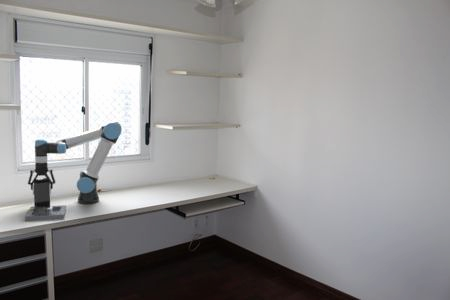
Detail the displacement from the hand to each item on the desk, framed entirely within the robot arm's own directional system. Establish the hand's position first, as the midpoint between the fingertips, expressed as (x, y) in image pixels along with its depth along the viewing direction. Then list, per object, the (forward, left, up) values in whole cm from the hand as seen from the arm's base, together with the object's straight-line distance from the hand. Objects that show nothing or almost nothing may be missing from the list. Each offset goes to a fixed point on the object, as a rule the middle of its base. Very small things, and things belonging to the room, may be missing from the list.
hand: (42, 193), depth 261 cm
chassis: (-5, +19, -10) cm, 22 cm away
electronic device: (0, 0, -10) cm, 10 cm away
